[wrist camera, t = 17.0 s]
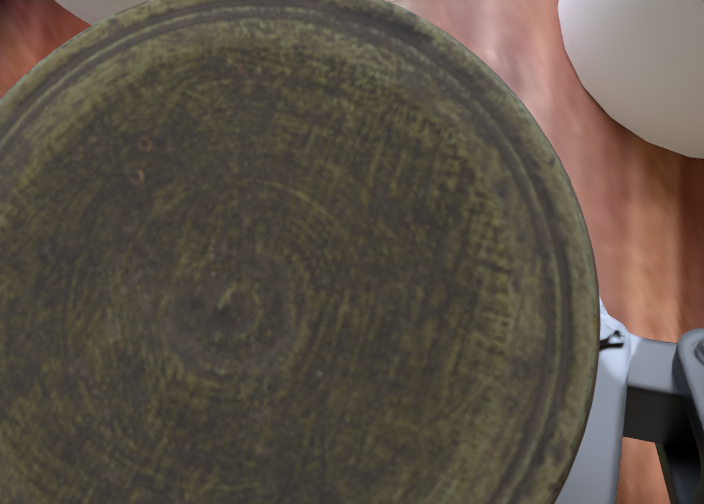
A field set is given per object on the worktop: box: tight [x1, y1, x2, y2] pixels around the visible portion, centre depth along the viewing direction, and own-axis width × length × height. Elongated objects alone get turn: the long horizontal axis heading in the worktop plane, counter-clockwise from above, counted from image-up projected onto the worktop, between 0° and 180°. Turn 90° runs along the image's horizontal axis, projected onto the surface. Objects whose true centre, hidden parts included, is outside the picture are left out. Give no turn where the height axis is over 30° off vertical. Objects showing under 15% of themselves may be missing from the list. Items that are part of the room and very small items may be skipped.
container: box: [0, 0, 601, 504], centre depth 16 cm, size 9×9×18 cm
